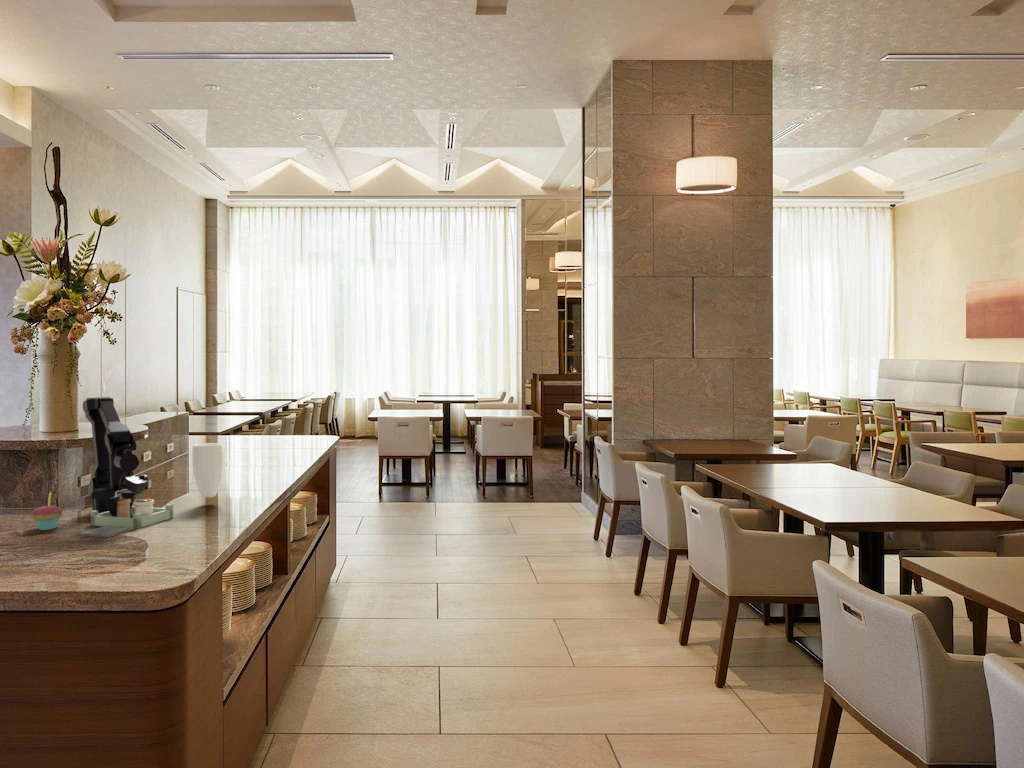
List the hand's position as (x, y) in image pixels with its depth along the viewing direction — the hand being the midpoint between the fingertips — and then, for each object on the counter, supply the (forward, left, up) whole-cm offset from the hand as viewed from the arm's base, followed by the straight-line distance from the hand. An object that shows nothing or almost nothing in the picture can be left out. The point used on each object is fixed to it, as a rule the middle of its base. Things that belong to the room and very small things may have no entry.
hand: (121, 516), depth 258 cm
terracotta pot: (0, 0, -2) cm, 2 cm away
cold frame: (+5, 0, -2) cm, 5 cm away
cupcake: (-14, -15, -2) cm, 21 cm away
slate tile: (+9, -15, -2) cm, 17 cm away
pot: (+9, 0, -2) cm, 9 cm away
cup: (+11, +30, -2) cm, 32 cm away
